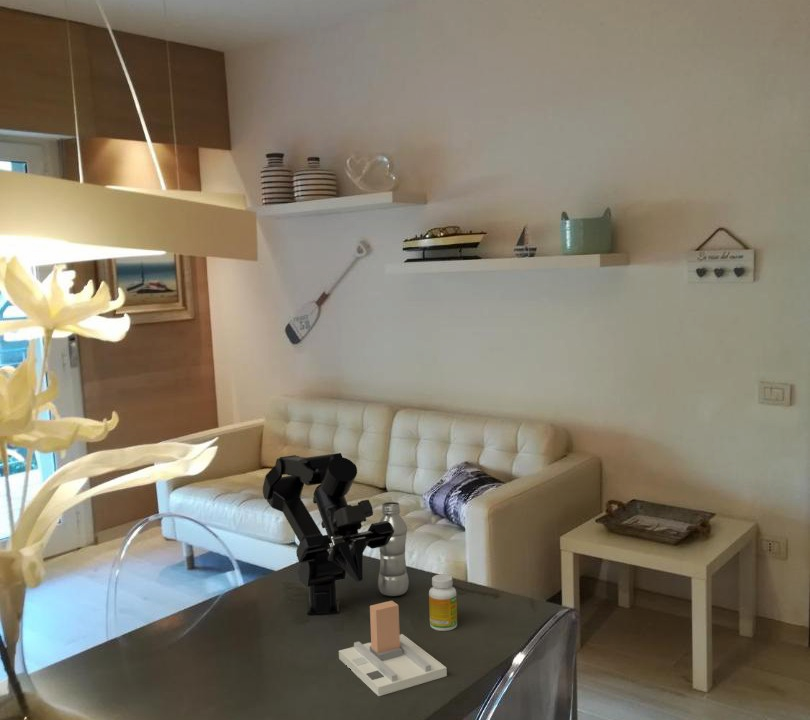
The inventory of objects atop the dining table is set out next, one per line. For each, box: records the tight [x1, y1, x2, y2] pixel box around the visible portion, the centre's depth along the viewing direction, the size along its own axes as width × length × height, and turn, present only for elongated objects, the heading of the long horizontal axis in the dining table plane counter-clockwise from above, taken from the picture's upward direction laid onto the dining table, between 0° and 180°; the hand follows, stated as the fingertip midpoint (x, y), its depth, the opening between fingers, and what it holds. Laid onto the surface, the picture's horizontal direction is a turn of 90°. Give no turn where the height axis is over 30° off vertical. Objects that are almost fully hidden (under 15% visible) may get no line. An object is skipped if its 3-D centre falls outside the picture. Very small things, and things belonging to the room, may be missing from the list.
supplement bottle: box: [428, 573, 458, 632], centre depth 158 cm, size 5×5×10 cm
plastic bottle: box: [377, 501, 410, 597], centre depth 175 cm, size 6×7×20 cm
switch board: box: [338, 633, 448, 697], centre depth 142 cm, size 16×13×2 cm
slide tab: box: [369, 600, 402, 661], centre depth 144 cm, size 4×4×9 cm
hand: (360, 580), depth 152 cm, fingers closed
